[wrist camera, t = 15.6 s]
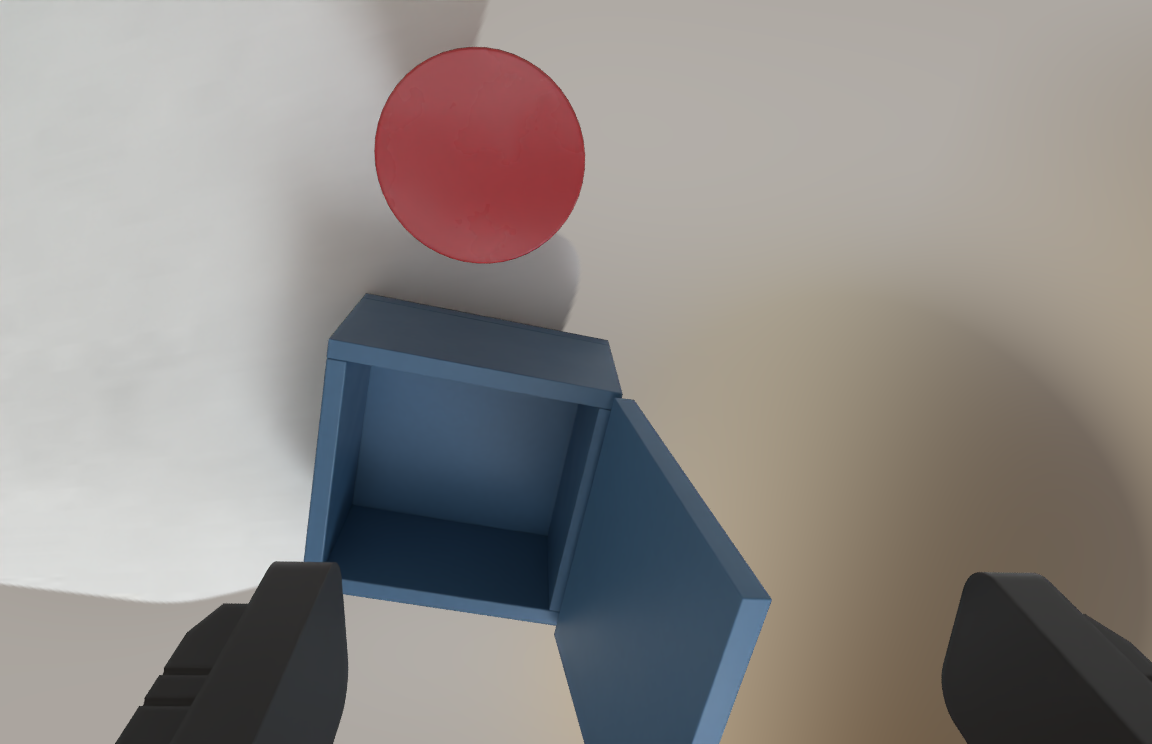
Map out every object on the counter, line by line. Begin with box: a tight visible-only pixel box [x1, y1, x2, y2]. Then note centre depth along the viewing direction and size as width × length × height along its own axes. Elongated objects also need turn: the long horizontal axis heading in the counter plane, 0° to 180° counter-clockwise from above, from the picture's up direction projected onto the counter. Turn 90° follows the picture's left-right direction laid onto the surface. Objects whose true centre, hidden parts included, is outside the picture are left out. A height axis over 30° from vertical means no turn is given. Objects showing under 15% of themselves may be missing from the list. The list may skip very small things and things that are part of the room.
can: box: [374, 47, 585, 263], centre depth 28 cm, size 6×6×12 cm
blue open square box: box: [304, 293, 623, 626], centre depth 35 cm, size 12×12×7 cm
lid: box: [554, 398, 771, 744], centre depth 27 cm, size 12×12×1 cm
